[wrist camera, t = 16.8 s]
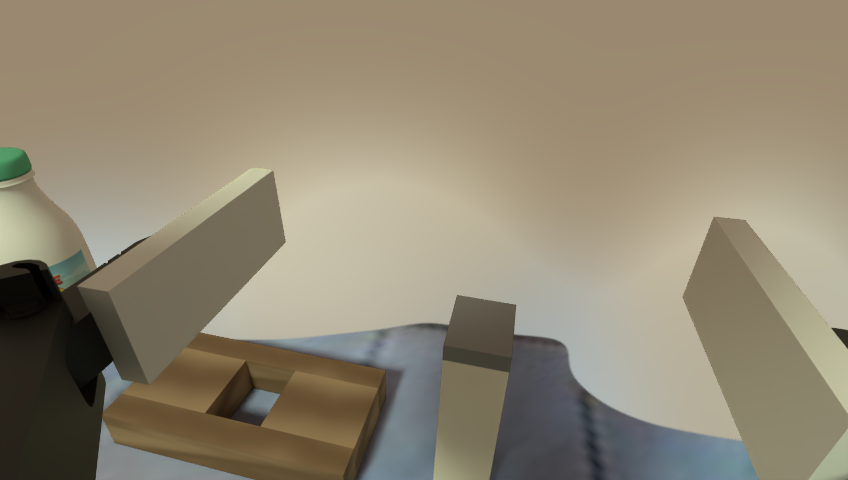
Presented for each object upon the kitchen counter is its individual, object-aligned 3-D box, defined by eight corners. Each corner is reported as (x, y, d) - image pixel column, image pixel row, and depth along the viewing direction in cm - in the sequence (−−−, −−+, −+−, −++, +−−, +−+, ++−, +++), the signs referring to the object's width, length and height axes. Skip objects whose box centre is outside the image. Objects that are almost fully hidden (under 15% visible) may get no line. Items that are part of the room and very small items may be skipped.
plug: (484, 504, 34) (511, 357, 26) (432, 491, 34) (443, 345, 27) (491, 445, 38) (516, 304, 30) (444, 435, 38) (457, 295, 31)
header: (345, 503, 33) (343, 475, 32) (114, 442, 37) (100, 414, 35) (385, 397, 42) (385, 370, 40) (194, 356, 45) (186, 329, 43)
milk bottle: (39, 326, 48) (-56, 145, 38) (122, 308, 51) (55, 135, 41) (21, 377, 42) (-97, 179, 32) (117, 353, 45) (37, 165, 35)
